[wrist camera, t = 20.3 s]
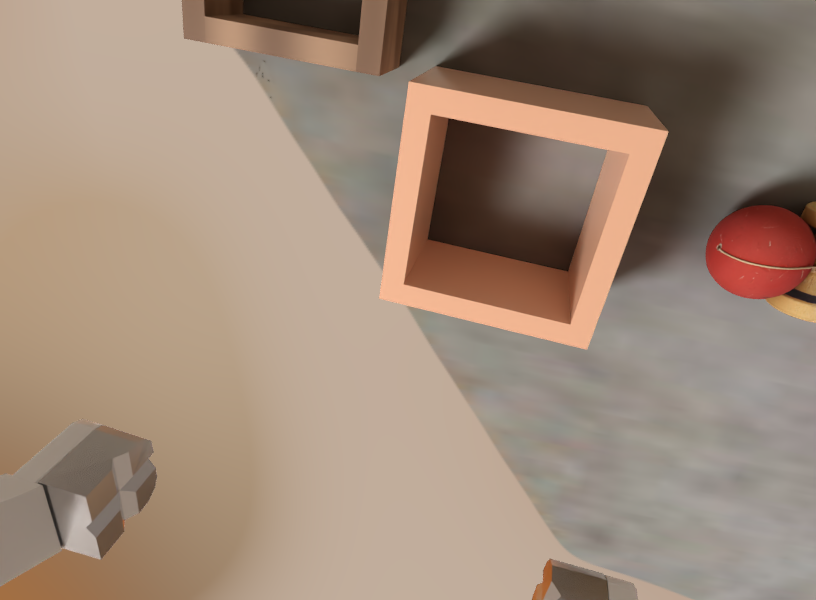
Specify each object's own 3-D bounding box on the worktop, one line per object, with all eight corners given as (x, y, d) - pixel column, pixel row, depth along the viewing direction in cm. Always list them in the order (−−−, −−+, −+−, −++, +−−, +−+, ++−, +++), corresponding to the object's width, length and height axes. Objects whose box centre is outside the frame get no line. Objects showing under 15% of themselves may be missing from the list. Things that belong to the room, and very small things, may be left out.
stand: (647, 105, 36) (668, 131, 29) (582, 293, 43) (587, 349, 36) (435, 65, 38) (408, 81, 31) (406, 252, 45) (379, 298, 38)
